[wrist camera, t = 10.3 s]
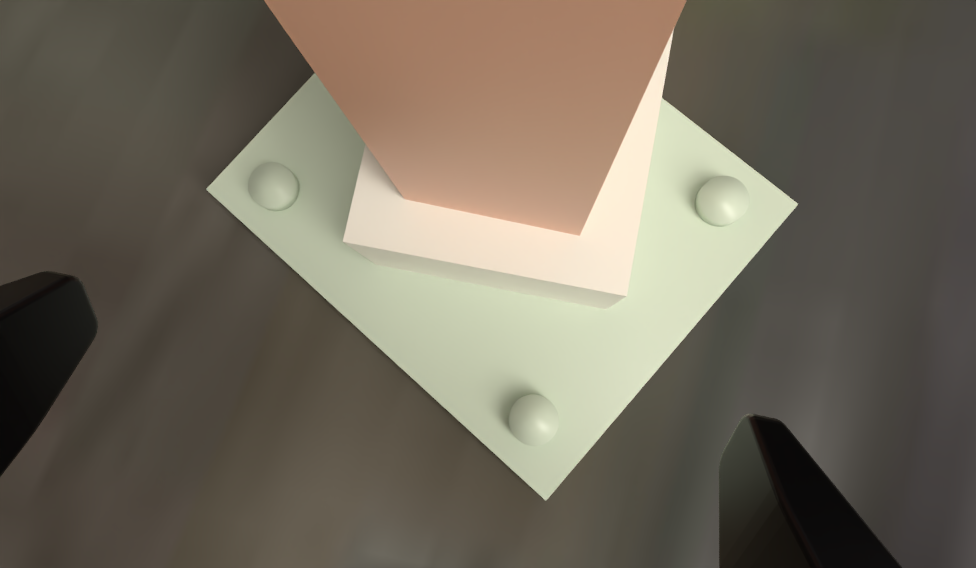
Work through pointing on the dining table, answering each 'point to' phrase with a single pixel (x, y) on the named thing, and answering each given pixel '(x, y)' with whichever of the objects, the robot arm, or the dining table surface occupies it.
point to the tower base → (493, 333)
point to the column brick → (488, 93)
